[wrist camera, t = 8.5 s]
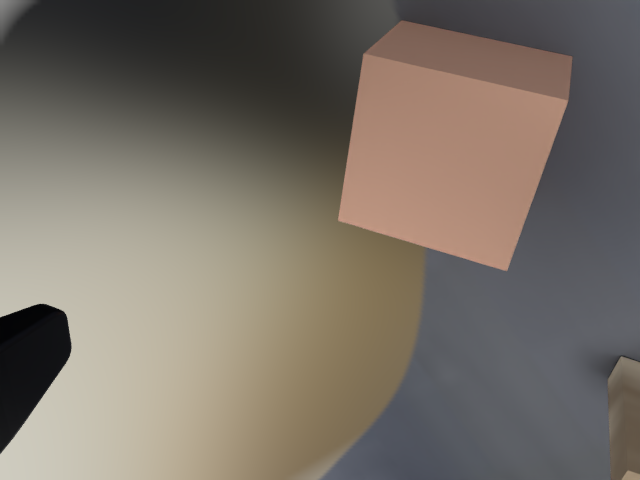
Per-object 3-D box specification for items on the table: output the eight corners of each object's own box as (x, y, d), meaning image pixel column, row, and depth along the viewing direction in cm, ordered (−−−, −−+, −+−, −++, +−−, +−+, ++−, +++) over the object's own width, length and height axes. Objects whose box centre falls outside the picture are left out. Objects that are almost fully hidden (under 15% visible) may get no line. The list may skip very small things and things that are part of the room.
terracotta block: (520, 205, 20) (506, 271, 17) (375, 165, 21) (337, 220, 18) (572, 55, 17) (568, 100, 14) (402, 19, 18) (363, 53, 15)
